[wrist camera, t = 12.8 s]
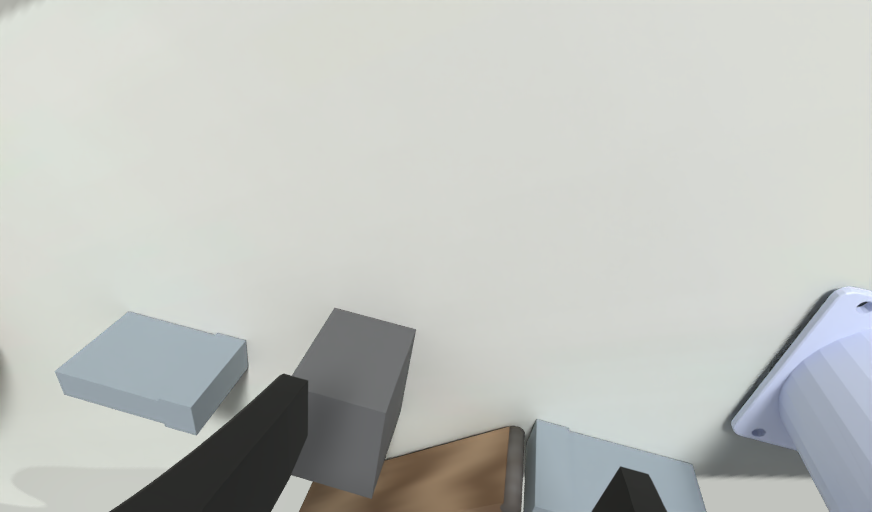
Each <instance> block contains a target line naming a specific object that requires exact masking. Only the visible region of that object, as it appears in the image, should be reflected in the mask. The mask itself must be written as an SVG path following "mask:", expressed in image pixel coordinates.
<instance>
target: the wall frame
mask: <svg viewBox="0 0 872 512" xmlns="http://www.w3.org/2000/svg"><path fill="white" fill-rule="evenodd" d="M247 368H248V360H247V349H246V341H245V340H242V339H238V338H234V337H231V336H227V335H223V334H220V333H217V334H216V335H213V334H210V333H206V332H202V331H199V330H195V329H191V328H188V327H184V326H180V325H177V324H173V323H169V322H165V321H162V320H158V319H154V318H151V317H147V316H143V315H140V314H136V313H132V312H127V313H126V314H125V315H124V316H122V317H121V318H120V319H119V320H117V321H116V322H115V323H114V324H113V325H111V326H110V327H109V328H108V329H106V330H105V331H104V332H103V333H101V334H100V335H99V336H98V337H96V338H95V339H94V340H93V341H92V342H90V343H89V344H88V345H87V346H85V347H84V348H83V349H82V350H80V351H79V352H78V353H77V354H75V355H74V356H73V357H72V358H71V359H69V360H68V361H67V362H66V363H64V364H63V365H62V366H61V367H59V368H58V369H57V370H56V371H55V373H56V375H57V378H58V380H59V383H60V385H61V387H62V390H63V392H64V395H68V396H71V397H75V398H78V399H82V400H85V401H88V402H92V403H95V404H99V405H102V406H106V407H109V408H112V409H116V410H119V411H123V412H126V413H130V414H133V415H136V416H140V417H143V418H147V419H150V420H154V421H157V422H160V423H164V424H165V426H166V427H169V428H172V429H176V430H179V431H183V432H186V433H190V434H193V435H197V434H198V433H199V431H200V430H201V429H202V428H203V426H204V425H205V424H206V422H207V421H208V420H209V418H210V417H211V416H212V414H213V413H214V412H215V410H216V409H217V408H218V406H219V405H220V404H221V402H222V401H223V400H224V398H225V397H226V396H227V394H228V393H229V392H230V391H231V389H232V388H233V387H234V385H235V384H236V383H237V381H238V380H239V379H240V377H241V376H242V375H243V373H244V372H245V371H246V369H247ZM620 466H621V467H625V468H628V469H632V470H636V471H639V472H643V473H646V474H649V476H650V478H651V479H652V481H653V483H654V485H655V487H656V490H657V492H658V494H659V496H660V498H661V500H662V502H663V504H664V506H665V508H666V510H667V512H706V509H705V505H704V502H703V498H702V495H701V492H700V488H699V485H698V482H697V478H696V475H695V472H694V468H693V465H692V464H689V463H686V462H682V461H678V460H675V459H671V458H667V457H663V456H660V455H656V454H652V453H649V452H645V451H641V450H638V449H634V448H630V447H627V446H623V445H619V444H616V443H612V442H608V441H604V440H601V439H597V438H593V437H590V436H586V435H582V434H579V433H575V432H571V431H569V428H567V427H563V426H560V425H556V424H552V423H549V422H545V421H541V420H536V422H535V425H534V427H533V429H532V432H531V434H530V436H529V439H528V441H527V443H526V464H525V488H524V511H523V512H592V510H593V508H594V507H595V505H596V504H597V502H598V500H599V499H600V497H601V496H602V494H603V493H604V491H605V489H606V488H607V486H608V485H609V483H610V482H611V480H612V478H613V477H614V475H615V474H616V472H617V470H618V469H619V467H620Z"/></svg>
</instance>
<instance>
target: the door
mask: <svg viewBox="0 0 872 512" xmlns="http://www.w3.org/2000/svg"><path fill="white" fill-rule="evenodd" d="M524 439H525V432H524V430H523V429H522V428H520V427H516V426H513V427H506V428H502V429H498V430H495V431H491V432H488V433H484V434H480V435H477V436H473V437H469V438H466V439H462V440H459V441H455V442H451V443H448V444H444V445H440V446H437V447H433V448H429V449H426V450H422V451H419V452H415V453H411V454H408V455H404V456H400V457H397V458H393V459H389V460H386V461H384V463H383V466H382V469H381V472H380V475H379V478H378V481H377V484H376V487H375V490H374V493H373V496H372V499H370V498H367V497H363V496H360V495H357V494H353V493H350V492H347V491H343V490H340V489H337V488H333V487H330V486H327V485H323V484H320V483H316V482H313V483H312V484H311V487H310V489H309V491H308V493H307V496H306V498H305V500H304V502H303V504H302V506H301V508H300V511H299V512H521V503H522V482H523V460H524Z"/></svg>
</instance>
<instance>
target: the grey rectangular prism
mask: <svg viewBox="0 0 872 512" xmlns="http://www.w3.org/2000/svg"><path fill="white" fill-rule="evenodd" d="M415 332H416V329H412V328H408V327H405V326H401V325H397V324H394V323H390V322H386V321H382V320H379V319H375V318H371V317H367V316H364V315H360V314H356V313H352V312H349V311H345V310H341V309H337V308H334V310H333V311H332V313H331V314H330V316H329V318H328V319H327V321H326V322H325V324H324V326H323V327H322V329H321V330H320V332H319V334H318V335H317V337H316V338H315V340H314V342H313V343H312V345H311V346H310V348H309V349H308V351H307V353H306V354H305V356H304V357H303V359H302V361H301V362H300V364H299V365H298V367H297V369H296V370H295V372H294V373H293V375H292V376H294V377H297V378H301V379H305V380H308V436H307V439H306V441H305V443H304V446H303V448H302V451H301V453H300V455H299V458H298V460H297V462H296V464H295V467H294V469H293V471H292V474H291V475H293V476H296V477H300V478H303V479H307V480H310V481H313V482H316V483H320V484H323V485H327V486H330V487H333V488H337V489H340V490H343V491H347V492H350V493H353V494H357V495H360V496H363V497H367V498H370V499H372V496H373V493H374V490H375V487H376V484H377V481H378V478H379V475H380V472H381V469H382V466H383V463H384V460H385V457H386V454H387V451H388V448H389V445H390V442H391V439H392V436H393V433H394V430H395V427H396V424H397V421H398V418H399V415H400V411H401V406H402V401H403V395H404V390H405V385H406V379H407V374H408V369H409V364H410V358H411V353H412V348H413V342H414V337H415Z"/></svg>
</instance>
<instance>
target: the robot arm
mask: <svg viewBox="0 0 872 512" xmlns="http://www.w3.org/2000/svg"><path fill="white" fill-rule="evenodd" d="M866 301H868V302H867V303H866V304H865V305H863V306H860V307H857V306H858V305H859V304H860V303H862V302H866ZM731 426H732V428H733V431H734V432H735V433H736V434H737V435H740V436H743V437H747V438H751V439H755V440H758V441H762V442H766V443H770V444H774V445H777V446H781V447H785V448H789V449H793V450H796V451H798V453H799V455H800V456H801V458H802V460H803V462H804V464H805V466H806V468H807V470H808V472H809V474H810V475H811V477H812V479H813V481H814V483H815V485H816V487H817V489H818V490H819V492H820V494H821V496H822V498H823V500H824V502H825V504H826V506H827V508H828V509H829V512H872V291H869V290H865V289H861V288H856V287H843V288H840V289H837V290H835V291H834V292H833V293H832V294H831V295H830V296H829V297H828V298H827V300H826V301H825V302H824V304H823V305H822V306H821V307H820V309H819V310H818V311H817V312H816V314H815V315H814V316H813V318H812V319H811V320H810V321H809V323H808V324H807V325H806V326H805V328H804V329H803V330H802V332H801V333H800V334H799V335H798V337H797V338H796V339H795V340H794V342H793V343H792V344H791V346H790V347H789V348H788V349H787V351H786V352H785V353H784V355H783V356H782V357H781V358H780V360H779V361H778V362H777V363H776V365H775V366H774V367H773V369H772V370H771V371H770V372H769V374H768V375H767V376H766V377H765V379H764V380H763V381H762V383H761V384H760V385H759V386H758V388H757V389H756V390H755V391H754V393H753V394H752V395H751V397H750V398H749V399H748V400H747V402H746V403H745V404H744V405H743V407H742V408H741V409H740V411H739V412H738V413H737V414H736V416H735V417H734V418H733V420H732V422H731ZM758 428H759V429H758ZM307 436H308V380H305V379H301V378H297V377H294V376H290V375H287V374H282V375H280V376H279V377H278V378H276V379H275V380H274V381H273V382H272V383H271V384H270V385H269V386H268V387H267V388H266V389H265V390H264V391H262V392H261V393H260V394H259V395H258V396H257V397H256V398H255V399H254V400H253V401H251V402H250V403H249V404H248V405H247V406H246V407H245V408H244V409H242V410H241V411H240V412H239V413H238V414H237V415H236V416H234V417H233V418H232V419H231V420H230V421H229V422H227V423H226V424H225V425H224V426H223V427H221V428H220V429H219V430H218V431H217V432H215V433H214V434H213V435H212V436H211V437H209V438H208V439H207V440H206V441H204V442H203V443H202V444H201V445H200V446H198V447H197V448H196V449H195V450H193V451H192V452H191V453H190V454H188V455H187V456H186V457H184V458H183V459H182V460H180V461H179V462H178V463H176V464H175V465H174V466H172V467H171V468H170V469H169V470H167V471H166V472H165V473H163V474H162V475H161V476H160V477H158V478H157V479H155V480H154V481H153V482H151V483H150V484H149V485H147V486H146V487H144V488H143V489H142V490H140V491H139V492H137V493H136V494H135V495H133V496H132V497H130V498H129V499H127V500H126V501H124V502H123V503H122V504H120V505H119V506H117V507H116V508H114V509H113V510H111V511H110V512H271V511H272V509H273V507H274V505H275V503H276V502H277V500H278V498H279V496H280V494H281V493H282V491H283V489H284V487H285V485H286V484H287V482H288V480H289V478H290V476H291V474H292V471H293V469H294V467H295V464H296V462H297V460H298V458H299V455H300V453H301V451H302V448H303V446H304V443H305V441H306V439H307ZM592 512H667V510H666V508H665V506H664V504H663V502H662V500H661V498H660V496H659V494H658V492H657V490H656V487H655V485H654V483H653V481H652V479H651V478H650V476H649V474H646V473H643V472H639V471H636V470H632V469H628V468H625V467H621V466H620V467H619V469H618V470H617V472H616V474H615V475H614V477H613V478H612V480H611V482H610V483H609V485H608V486H607V488H606V489H605V491H604V493H603V494H602V496H601V497H600V499H599V500H598V502H597V504H596V505H595V507H594V508H593V510H592Z"/></svg>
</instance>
